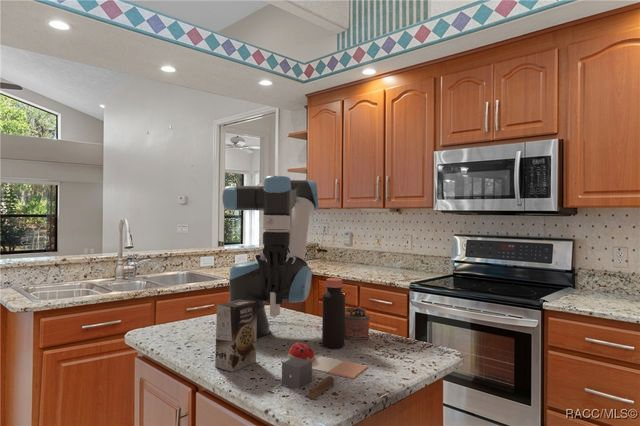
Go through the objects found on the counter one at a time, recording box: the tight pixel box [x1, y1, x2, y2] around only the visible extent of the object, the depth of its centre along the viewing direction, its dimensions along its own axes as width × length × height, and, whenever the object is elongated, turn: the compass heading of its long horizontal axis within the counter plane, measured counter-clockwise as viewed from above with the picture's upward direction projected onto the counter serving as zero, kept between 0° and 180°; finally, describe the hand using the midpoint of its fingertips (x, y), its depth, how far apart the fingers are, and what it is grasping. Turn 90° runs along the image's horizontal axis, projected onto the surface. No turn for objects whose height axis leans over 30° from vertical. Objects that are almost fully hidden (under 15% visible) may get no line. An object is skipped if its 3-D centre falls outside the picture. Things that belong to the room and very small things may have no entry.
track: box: [281, 354, 369, 379], centre depth 109 cm, size 21×9×1 cm, turn 60°
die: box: [281, 357, 313, 390], centre depth 97 cm, size 5×5×5 cm
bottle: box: [321, 277, 346, 350], centre depth 125 cm, size 7×7×20 cm
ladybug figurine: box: [287, 342, 316, 361], centre depth 112 cm, size 7×10×4 cm
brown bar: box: [308, 375, 335, 400], centre depth 92 cm, size 1×9×2 cm, turn 150°
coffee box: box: [214, 299, 257, 372], centre depth 108 cm, size 9×6×16 cm
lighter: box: [345, 306, 370, 342], centre depth 132 cm, size 8×3×10 cm, turn 84°
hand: (274, 315), depth 116 cm, fingers closed
